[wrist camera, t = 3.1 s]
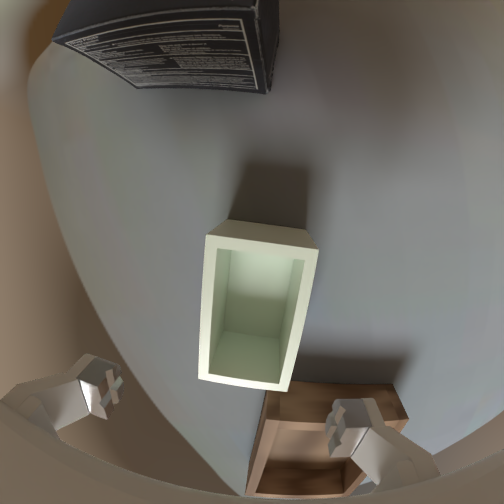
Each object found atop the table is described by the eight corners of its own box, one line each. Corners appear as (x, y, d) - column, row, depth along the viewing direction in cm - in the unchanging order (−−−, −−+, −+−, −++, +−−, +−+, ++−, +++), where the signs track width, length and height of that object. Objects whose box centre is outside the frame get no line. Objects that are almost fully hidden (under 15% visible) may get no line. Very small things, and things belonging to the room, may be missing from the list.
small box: (282, 26, 15) (282, -69, 5) (269, 96, 17) (262, 14, 7) (154, 25, 16) (90, -40, 6) (134, 91, 17) (45, 45, 7)
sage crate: (306, 229, 19) (318, 249, 13) (285, 342, 21) (286, 391, 15) (227, 219, 19) (206, 234, 13) (216, 332, 21) (198, 378, 16)
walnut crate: (392, 383, 22) (409, 419, 17) (343, 466, 25) (348, 496, 20) (268, 378, 22) (266, 419, 17) (249, 463, 26) (244, 495, 21)
